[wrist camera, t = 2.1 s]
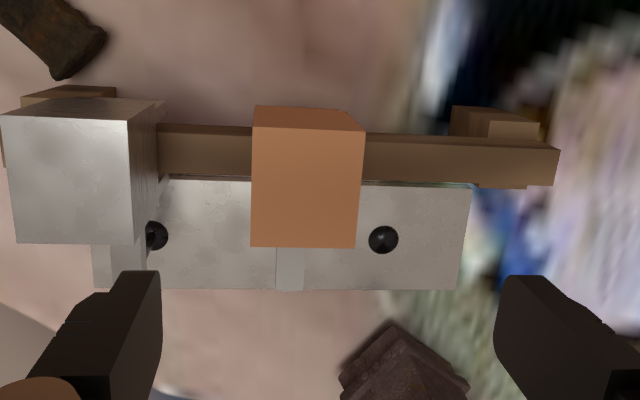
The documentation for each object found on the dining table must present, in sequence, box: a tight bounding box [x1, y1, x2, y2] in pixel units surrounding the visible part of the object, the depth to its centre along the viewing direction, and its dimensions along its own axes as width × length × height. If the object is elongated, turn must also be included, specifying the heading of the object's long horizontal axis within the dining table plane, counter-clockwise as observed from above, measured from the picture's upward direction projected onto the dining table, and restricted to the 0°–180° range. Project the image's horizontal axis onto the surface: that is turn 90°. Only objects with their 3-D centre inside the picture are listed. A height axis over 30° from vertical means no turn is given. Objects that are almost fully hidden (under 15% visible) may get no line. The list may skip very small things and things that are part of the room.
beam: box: [0, 85, 561, 189], centre depth 29 cm, size 4×28×8 cm, turn 86°
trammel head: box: [250, 105, 366, 291], centre depth 27 cm, size 11×4×12 cm, turn 176°
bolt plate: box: [90, 175, 473, 290], centre depth 35 cm, size 8×26×1 cm, turn 86°
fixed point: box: [0, 96, 169, 285], centre depth 25 cm, size 11×4×12 cm, turn 176°
